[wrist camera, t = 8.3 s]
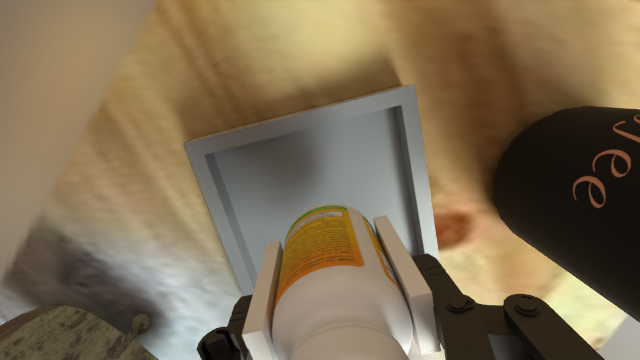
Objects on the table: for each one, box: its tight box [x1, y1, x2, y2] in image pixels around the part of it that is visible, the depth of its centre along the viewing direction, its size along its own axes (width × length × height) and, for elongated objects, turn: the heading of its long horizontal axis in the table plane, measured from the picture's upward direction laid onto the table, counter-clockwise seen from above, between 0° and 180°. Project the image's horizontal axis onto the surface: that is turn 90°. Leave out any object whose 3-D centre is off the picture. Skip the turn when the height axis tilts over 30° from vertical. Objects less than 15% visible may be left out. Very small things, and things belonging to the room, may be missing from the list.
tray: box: [184, 85, 440, 296], centre depth 22 cm, size 15×15×2 cm
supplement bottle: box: [272, 203, 413, 360], centre depth 13 cm, size 5×5×10 cm
